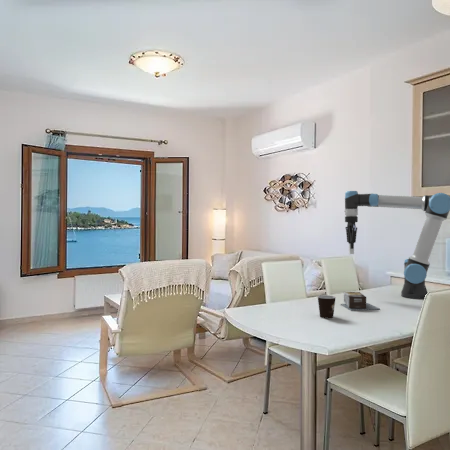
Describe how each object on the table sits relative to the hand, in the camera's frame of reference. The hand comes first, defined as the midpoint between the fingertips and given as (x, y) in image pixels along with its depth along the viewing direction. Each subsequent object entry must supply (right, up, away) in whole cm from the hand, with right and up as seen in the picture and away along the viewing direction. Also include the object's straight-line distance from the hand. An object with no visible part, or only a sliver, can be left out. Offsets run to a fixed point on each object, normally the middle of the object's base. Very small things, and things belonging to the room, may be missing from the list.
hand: (351, 253), depth 261 cm
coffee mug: (-27, -28, -51) cm, 64 cm away
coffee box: (-6, -23, -21) cm, 32 cm away
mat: (-5, -27, -31) cm, 41 cm away
